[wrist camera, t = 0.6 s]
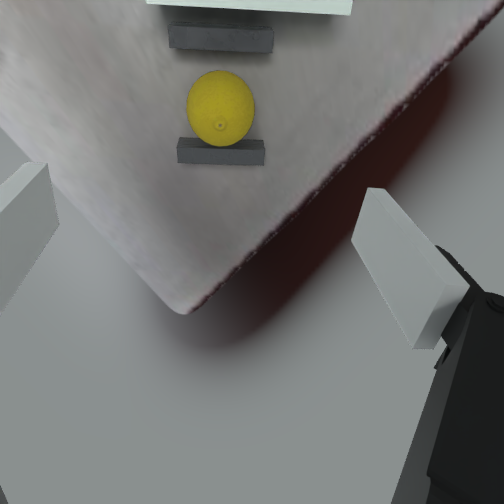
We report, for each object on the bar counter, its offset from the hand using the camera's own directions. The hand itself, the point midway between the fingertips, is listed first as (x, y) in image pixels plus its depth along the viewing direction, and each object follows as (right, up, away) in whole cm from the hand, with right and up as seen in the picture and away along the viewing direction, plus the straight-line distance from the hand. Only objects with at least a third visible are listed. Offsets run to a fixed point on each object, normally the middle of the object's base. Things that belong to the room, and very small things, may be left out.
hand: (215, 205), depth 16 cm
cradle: (-1, +12, +18) cm, 22 cm away
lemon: (-1, +12, +18) cm, 22 cm away
